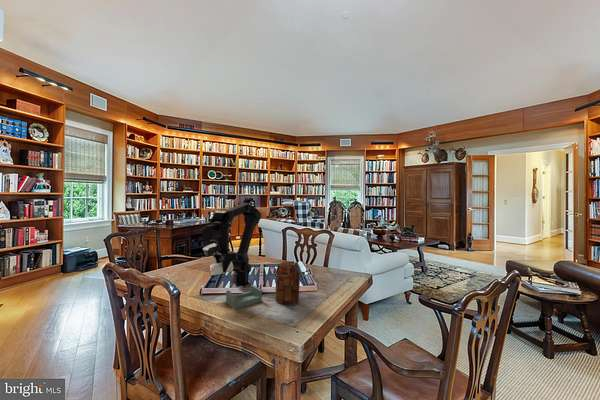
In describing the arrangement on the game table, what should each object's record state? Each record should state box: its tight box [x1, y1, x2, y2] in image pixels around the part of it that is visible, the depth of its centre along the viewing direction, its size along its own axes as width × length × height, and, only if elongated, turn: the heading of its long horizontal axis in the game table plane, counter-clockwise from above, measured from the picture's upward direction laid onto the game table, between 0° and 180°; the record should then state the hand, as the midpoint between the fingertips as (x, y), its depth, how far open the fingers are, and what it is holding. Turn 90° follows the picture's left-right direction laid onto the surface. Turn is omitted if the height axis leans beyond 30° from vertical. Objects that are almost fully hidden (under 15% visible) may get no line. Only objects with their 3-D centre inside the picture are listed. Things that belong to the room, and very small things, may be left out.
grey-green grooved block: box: [225, 284, 263, 310], centre depth 126 cm, size 13×8×5 cm, turn 130°
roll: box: [209, 262, 234, 276], centre depth 133 cm, size 9×5×5 cm, turn 130°
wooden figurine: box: [275, 260, 301, 306], centre depth 126 cm, size 12×6×18 cm, turn 73°
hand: (221, 271), depth 133 cm, fingers closed on roll, 5 cm apart
